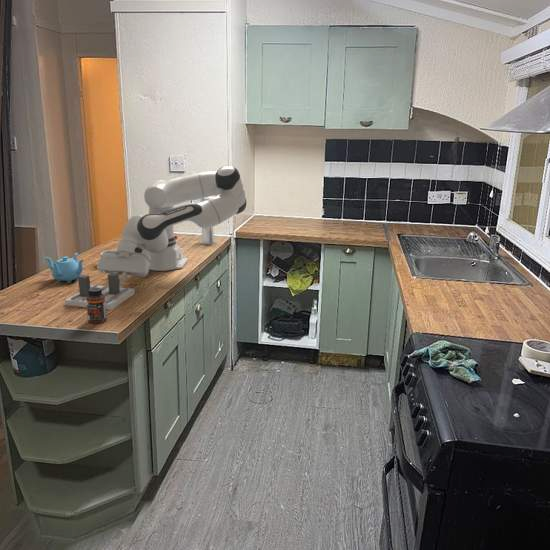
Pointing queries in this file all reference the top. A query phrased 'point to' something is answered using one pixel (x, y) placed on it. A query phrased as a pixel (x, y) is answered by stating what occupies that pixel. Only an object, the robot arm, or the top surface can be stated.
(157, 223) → the robot arm
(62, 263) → the teapot
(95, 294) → the supplement bottle
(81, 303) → the white board with strips
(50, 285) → the top surface
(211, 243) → the skyscraper
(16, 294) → the top surface
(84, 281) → the switch tab
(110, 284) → the switch tab
